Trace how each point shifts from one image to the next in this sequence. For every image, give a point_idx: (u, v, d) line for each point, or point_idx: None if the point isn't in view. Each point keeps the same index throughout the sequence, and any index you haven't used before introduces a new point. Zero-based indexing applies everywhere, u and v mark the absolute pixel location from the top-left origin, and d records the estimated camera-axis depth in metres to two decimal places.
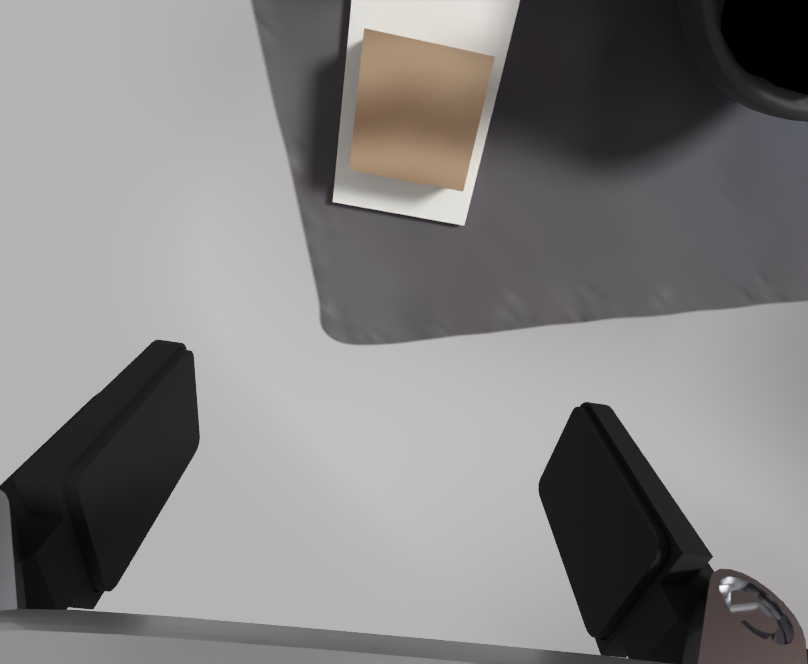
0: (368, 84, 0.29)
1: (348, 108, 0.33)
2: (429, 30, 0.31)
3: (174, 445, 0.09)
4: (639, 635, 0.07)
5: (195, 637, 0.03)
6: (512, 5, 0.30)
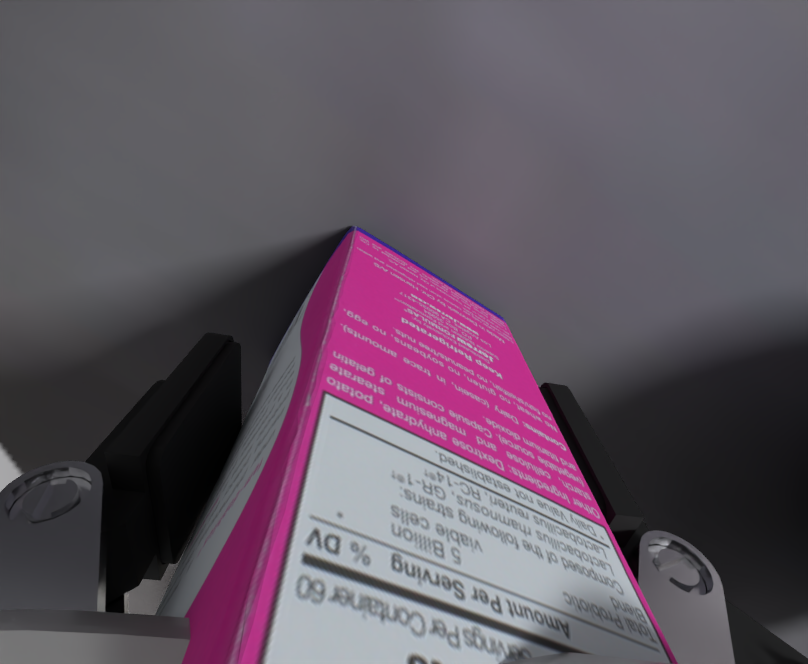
0: None
1: None
2: None
3: (224, 431, 0.10)
4: None
5: None
6: None
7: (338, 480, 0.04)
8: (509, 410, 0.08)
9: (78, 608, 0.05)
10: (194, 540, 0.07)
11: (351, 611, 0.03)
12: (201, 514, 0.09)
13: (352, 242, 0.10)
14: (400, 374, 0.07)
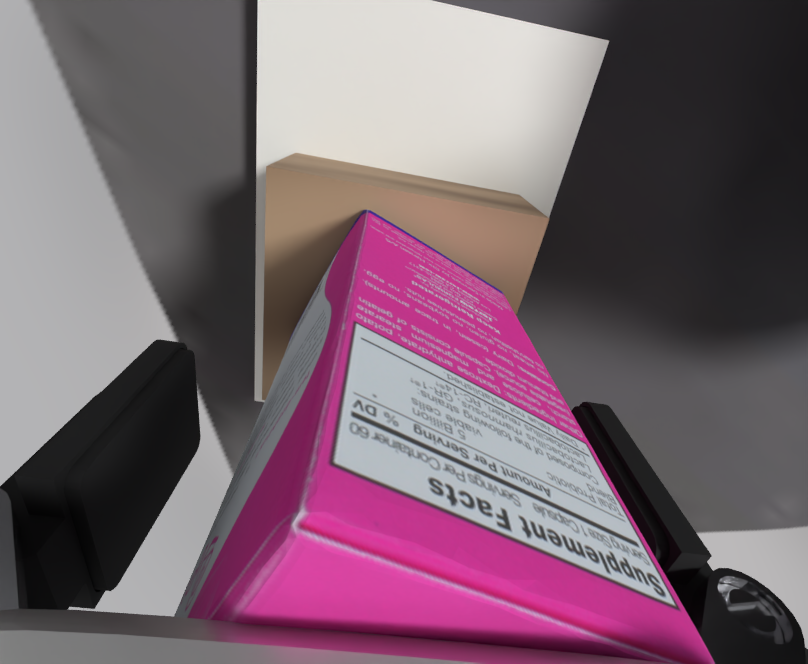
0: (285, 267, 0.14)
1: None
2: (412, 141, 0.16)
3: (175, 445, 0.09)
4: None
5: (196, 636, 0.03)
6: (577, 97, 0.15)
7: (372, 376, 0.06)
8: (506, 356, 0.09)
9: None
10: (243, 463, 0.08)
11: (387, 447, 0.05)
12: (242, 455, 0.10)
13: (366, 221, 0.12)
14: (413, 319, 0.08)
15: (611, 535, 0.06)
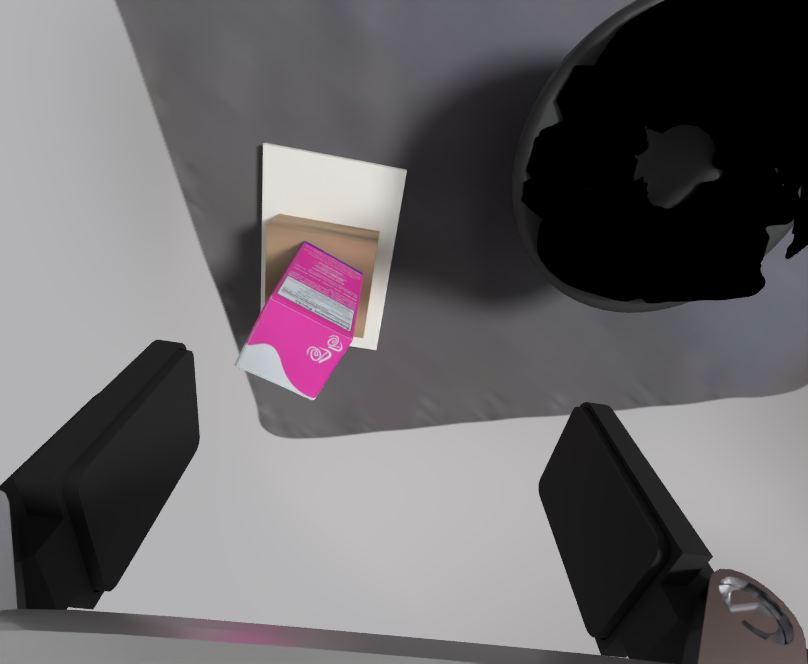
0: (274, 263, 0.35)
1: None
2: (330, 209, 0.37)
3: (174, 445, 0.09)
4: (639, 635, 0.07)
5: (194, 637, 0.03)
6: (397, 191, 0.36)
7: (288, 285, 0.26)
8: (339, 290, 0.30)
9: None
10: None
11: (288, 294, 0.25)
12: None
13: (302, 246, 0.33)
14: (307, 276, 0.29)
15: (341, 320, 0.27)
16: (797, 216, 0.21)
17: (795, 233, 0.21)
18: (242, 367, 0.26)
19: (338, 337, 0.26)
